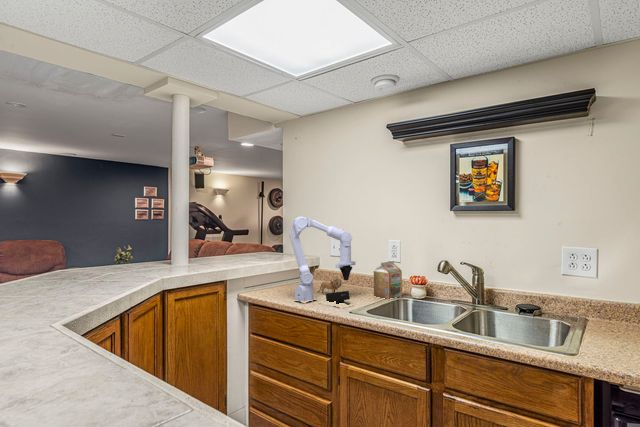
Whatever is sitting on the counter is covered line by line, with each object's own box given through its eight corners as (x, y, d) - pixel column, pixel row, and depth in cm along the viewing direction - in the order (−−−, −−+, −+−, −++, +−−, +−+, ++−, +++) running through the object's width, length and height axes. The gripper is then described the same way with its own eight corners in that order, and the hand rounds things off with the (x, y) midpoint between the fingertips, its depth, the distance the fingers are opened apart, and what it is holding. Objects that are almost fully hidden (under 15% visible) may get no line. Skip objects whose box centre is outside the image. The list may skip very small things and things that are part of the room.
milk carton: (389, 300, 195) (388, 263, 195) (374, 297, 203) (373, 261, 203) (402, 297, 202) (401, 261, 202) (386, 294, 210) (386, 260, 210)
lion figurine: (343, 293, 213) (342, 278, 213) (340, 295, 208) (340, 279, 208) (318, 292, 218) (318, 276, 218) (315, 294, 213) (315, 278, 213)
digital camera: (336, 302, 196) (326, 304, 192) (335, 292, 197) (325, 293, 193) (350, 301, 189) (339, 303, 184) (348, 290, 190) (338, 292, 185)
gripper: (342, 256, 192) (343, 282, 192) (359, 253, 203) (360, 278, 203) (332, 255, 197) (332, 281, 197) (349, 252, 208) (350, 277, 208)
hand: (346, 280), depth 200 cm, fingers closed
